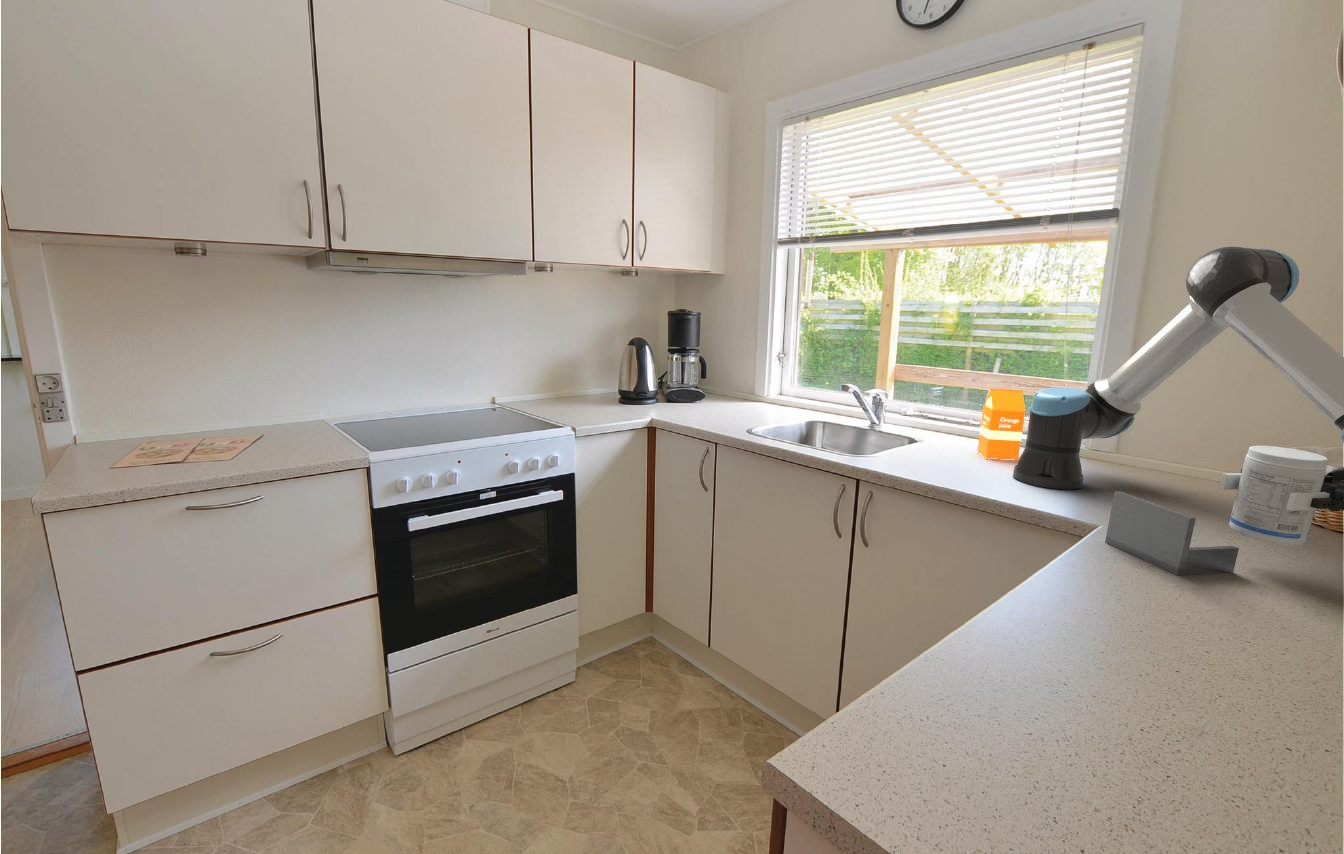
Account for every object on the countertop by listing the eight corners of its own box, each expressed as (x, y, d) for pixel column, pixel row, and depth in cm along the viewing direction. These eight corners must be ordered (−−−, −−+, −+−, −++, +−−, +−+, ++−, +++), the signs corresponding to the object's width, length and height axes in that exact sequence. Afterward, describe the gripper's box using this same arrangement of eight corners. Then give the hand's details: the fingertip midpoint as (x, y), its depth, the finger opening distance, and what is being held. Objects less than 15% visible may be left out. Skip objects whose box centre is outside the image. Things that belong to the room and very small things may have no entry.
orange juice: (1018, 461, 172) (1028, 392, 168) (985, 459, 173) (994, 390, 169) (1008, 454, 179) (1017, 388, 175) (976, 452, 181) (985, 387, 177)
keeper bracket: (1105, 542, 113) (1114, 491, 111) (1155, 540, 114) (1165, 490, 112) (1177, 575, 99) (1189, 518, 97) (1233, 572, 101) (1246, 516, 99)
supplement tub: (1243, 522, 108) (1264, 443, 104) (1316, 542, 99) (1341, 456, 96) (1216, 529, 104) (1236, 447, 100) (1289, 551, 95) (1314, 462, 92)
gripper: (1448, 535, 93) (1330, 539, 89) (1285, 488, 114) (1184, 490, 110) (1464, 488, 91) (1344, 491, 87) (1295, 450, 112) (1193, 451, 109)
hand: (1255, 491), depth 99 cm, fingers closed on supplement tub, 9 cm apart
